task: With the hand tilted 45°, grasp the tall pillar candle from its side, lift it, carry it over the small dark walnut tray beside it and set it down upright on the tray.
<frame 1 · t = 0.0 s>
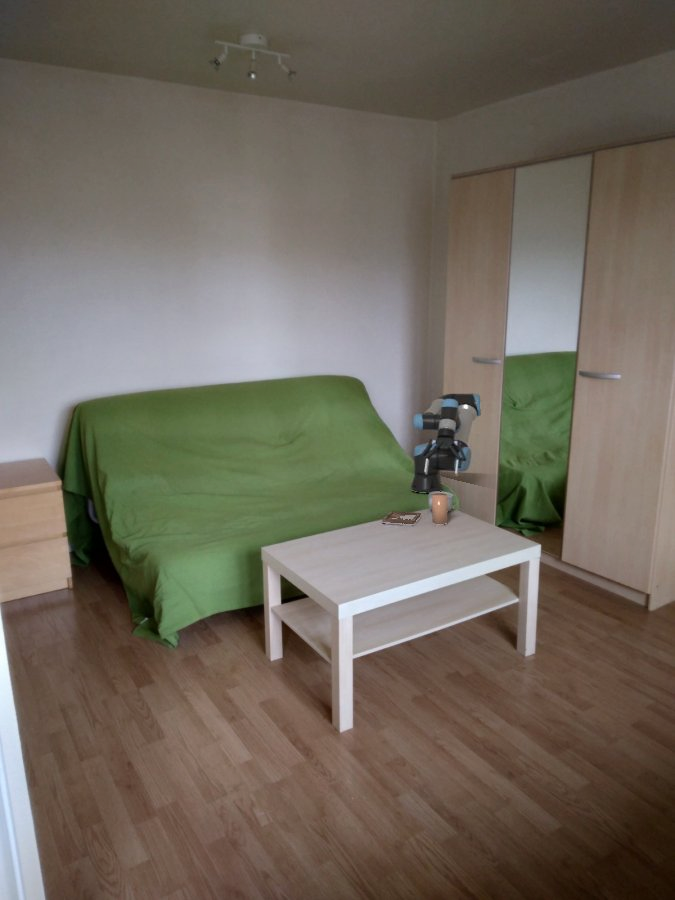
hand: (440, 473, 288), 15 cm above the table, tool tilted 35°, fingers open, 13 cm apart
tray: (401, 520, 273), on the table
teacup: (438, 513, 283), on the table
pillar candle: (439, 523, 267), on the table
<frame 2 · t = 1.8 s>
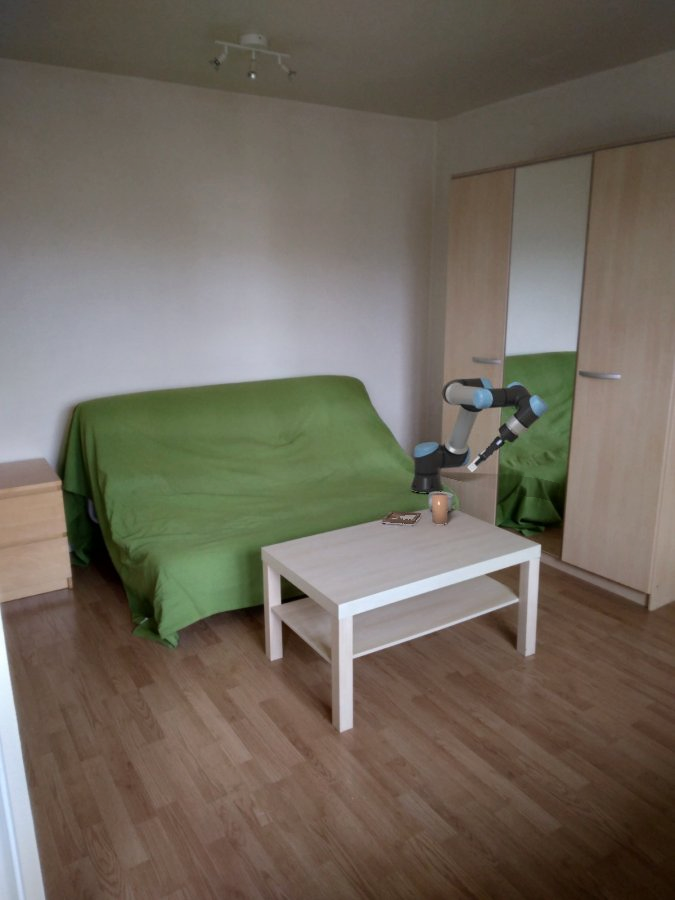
hand: (472, 466, 258), 24 cm above the table, tool tilted 45°, fingers open, 13 cm apart
nothing on the table moved.
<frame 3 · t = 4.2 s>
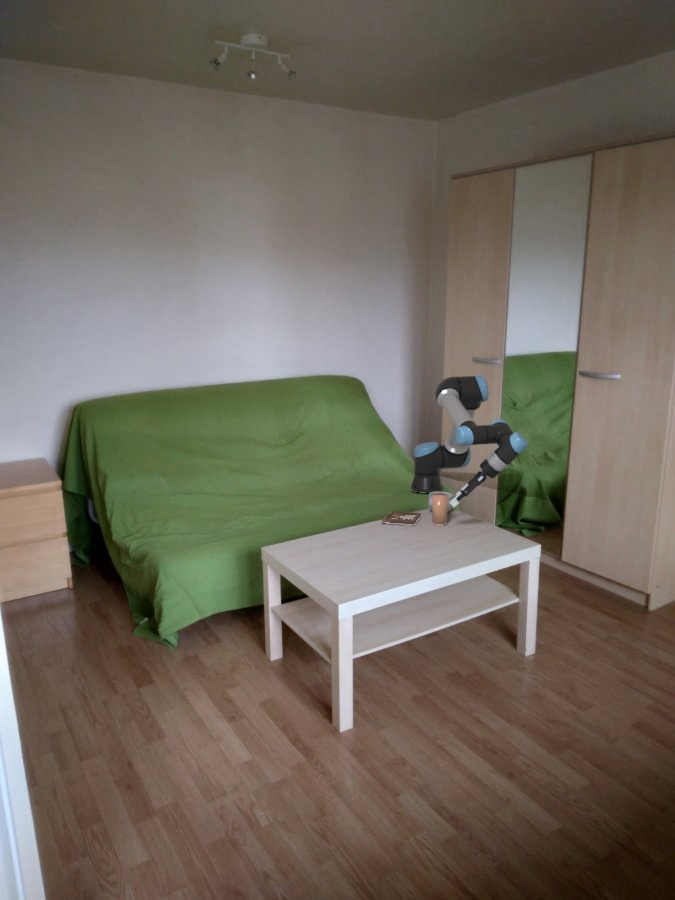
hand: (454, 500, 262), 10 cm above the table, tool tilted 45°, fingers open, 13 cm apart
nothing on the table moved.
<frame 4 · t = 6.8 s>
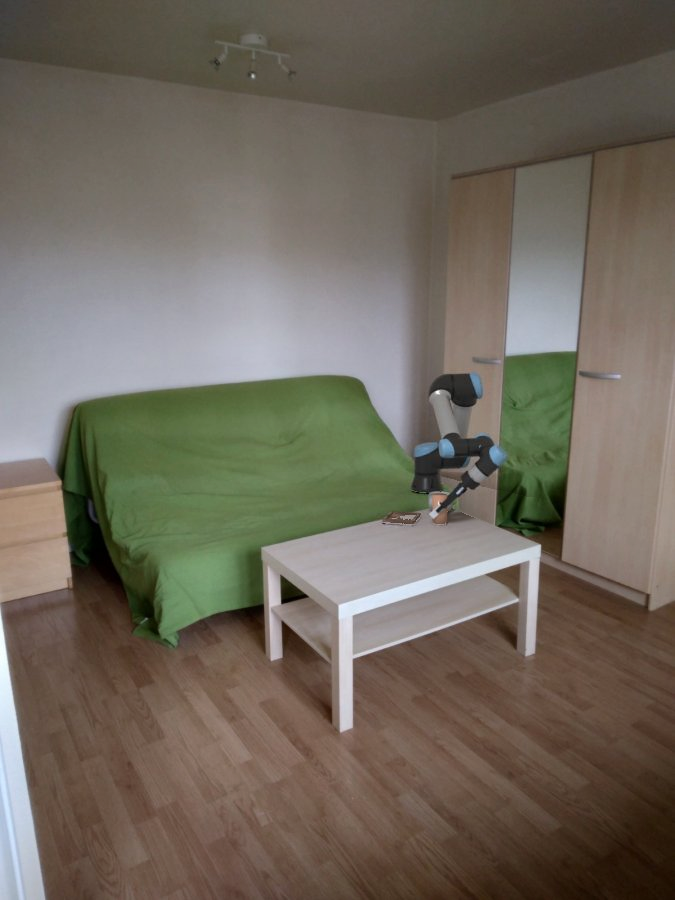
hand: (433, 513, 267), 4 cm above the table, tool tilted 45°, fingers closed on pillar candle, 6 cm apart
pillar candle: (439, 523, 267), on the table, touching gripper
everything else where it was.
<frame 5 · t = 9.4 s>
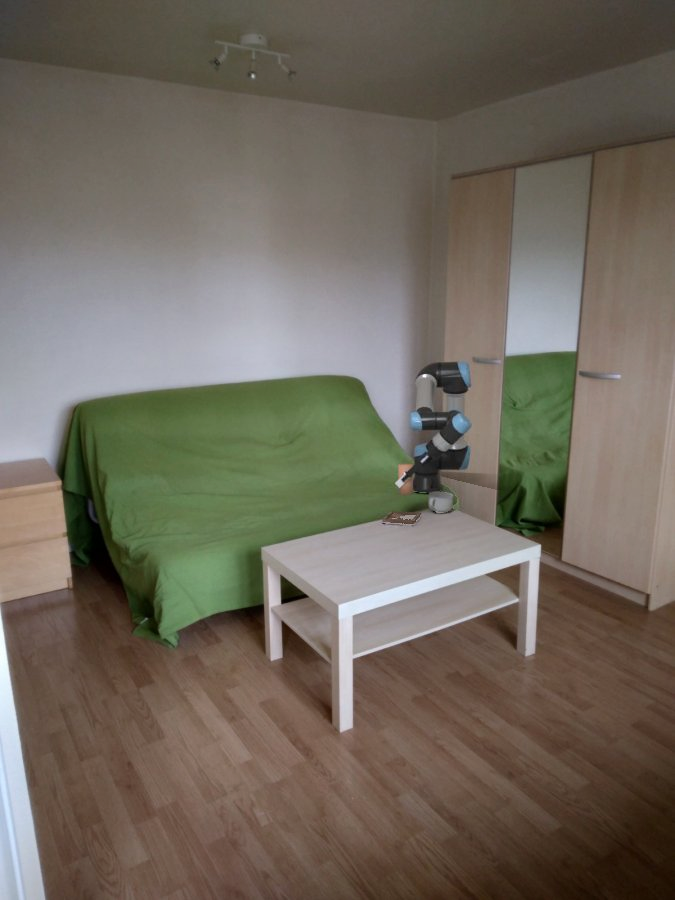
hand: (399, 483, 270), 16 cm above the table, tool tilted 45°, fingers closed on pillar candle, 6 cm apart
pillar candle: (405, 493, 270), point 12 cm above the table, touching gripper
everything else where it was.
when the fingers open (6 cm above the table, at t = 12.4 s): pillar candle stays where it is, resting on tray.
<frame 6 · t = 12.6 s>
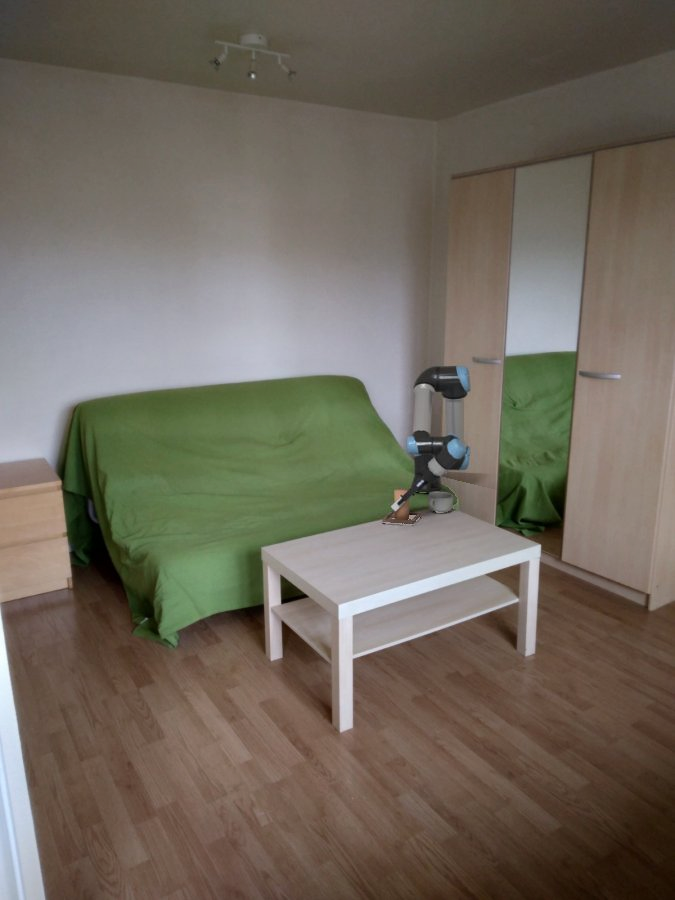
hand: (396, 506, 273), 6 cm above the table, tool tilted 45°, fingers open, 8 cm apart
pillar candle: (401, 518, 273), point 1 cm above the table, touching tray
everything else where it was.
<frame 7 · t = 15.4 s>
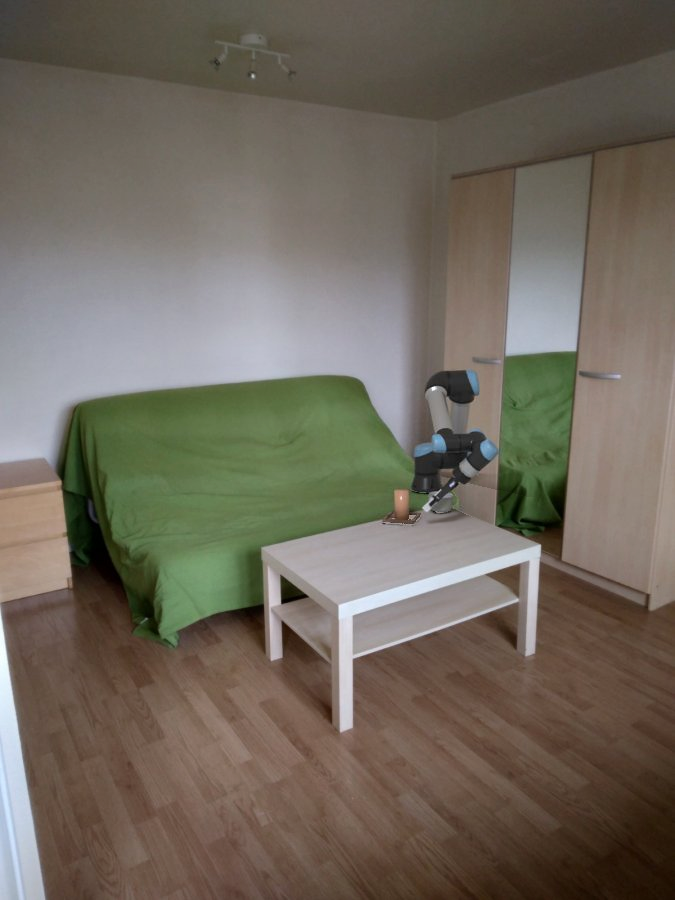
hand: (428, 505, 268), 7 cm above the table, tool tilted 45°, fingers open, 13 cm apart
nothing on the table moved.
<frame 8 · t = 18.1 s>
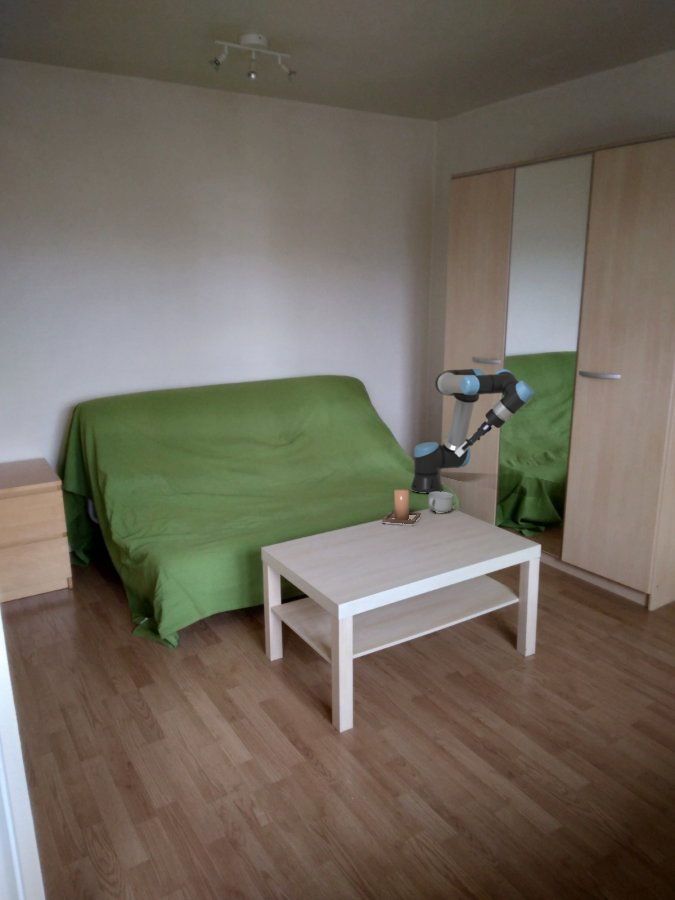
hand: (460, 451, 262), 30 cm above the table, tool tilted 45°, fingers open, 13 cm apart
nothing on the table moved.
at the end: pillar candle inside the target area on the tray (0.0 cm from its centre), point 1.0 cm above the tray's base; pillar candle tilted 0°; the gripper is holding nothing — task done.
